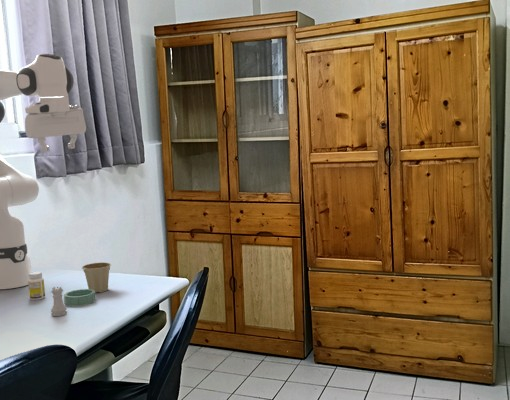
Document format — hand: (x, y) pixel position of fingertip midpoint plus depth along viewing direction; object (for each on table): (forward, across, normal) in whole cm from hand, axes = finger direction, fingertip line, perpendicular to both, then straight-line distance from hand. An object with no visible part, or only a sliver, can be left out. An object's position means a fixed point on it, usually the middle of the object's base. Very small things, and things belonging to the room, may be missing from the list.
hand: (59, 150), depth 189 cm
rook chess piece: (+46, +18, +19) cm, 53 cm away
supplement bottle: (+47, +11, -4) cm, 49 cm away
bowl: (+46, +7, +13) cm, 49 cm away
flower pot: (+48, -5, +7) cm, 48 cm away
